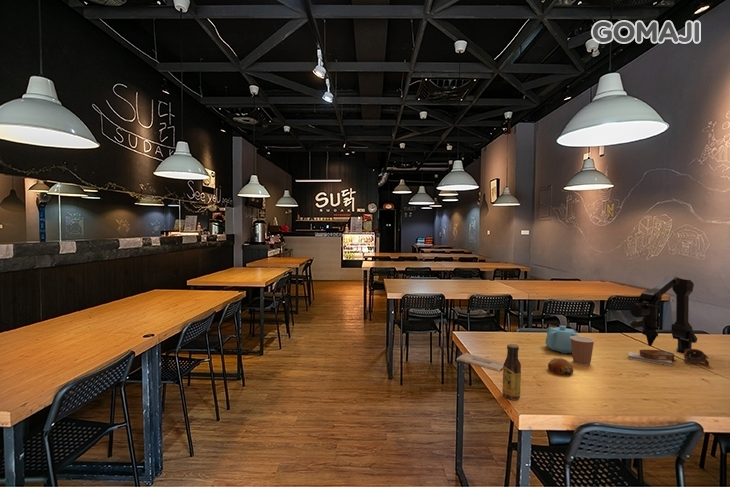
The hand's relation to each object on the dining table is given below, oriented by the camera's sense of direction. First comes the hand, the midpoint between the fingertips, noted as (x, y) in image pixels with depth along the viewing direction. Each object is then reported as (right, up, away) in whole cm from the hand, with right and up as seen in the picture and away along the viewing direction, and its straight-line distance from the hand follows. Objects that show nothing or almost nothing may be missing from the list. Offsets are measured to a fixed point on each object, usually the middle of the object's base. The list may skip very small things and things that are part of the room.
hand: (649, 345), depth 182 cm
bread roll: (-60, -5, -24) cm, 65 cm away
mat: (-4, -5, -5) cm, 8 cm away
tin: (+1, -4, +1) cm, 4 cm away
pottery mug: (+13, -6, -11) cm, 18 cm away
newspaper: (-92, -6, -12) cm, 93 cm away
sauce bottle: (-94, -5, -50) cm, 107 cm away
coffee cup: (-43, -5, -12) cm, 45 cm away
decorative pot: (-41, -5, +8) cm, 43 cm away
